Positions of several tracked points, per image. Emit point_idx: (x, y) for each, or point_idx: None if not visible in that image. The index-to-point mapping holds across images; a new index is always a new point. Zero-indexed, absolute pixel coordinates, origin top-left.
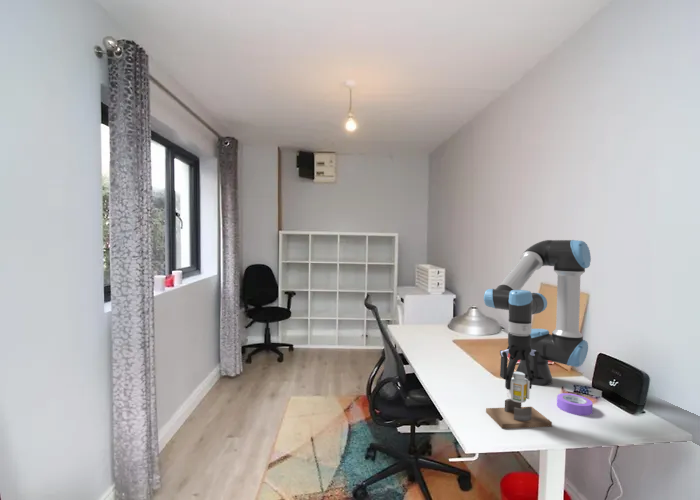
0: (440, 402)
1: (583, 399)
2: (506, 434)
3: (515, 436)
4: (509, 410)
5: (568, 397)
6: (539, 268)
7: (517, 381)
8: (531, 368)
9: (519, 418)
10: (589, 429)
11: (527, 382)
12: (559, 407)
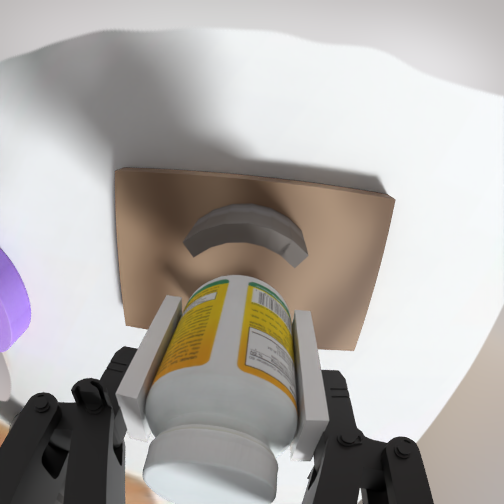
0: (440, 405)
1: None
2: (402, 141)
3: (373, 113)
4: None
5: None
6: None
7: (267, 413)
8: (46, 492)
9: (280, 216)
10: (9, 135)
11: (142, 389)
12: (27, 302)
